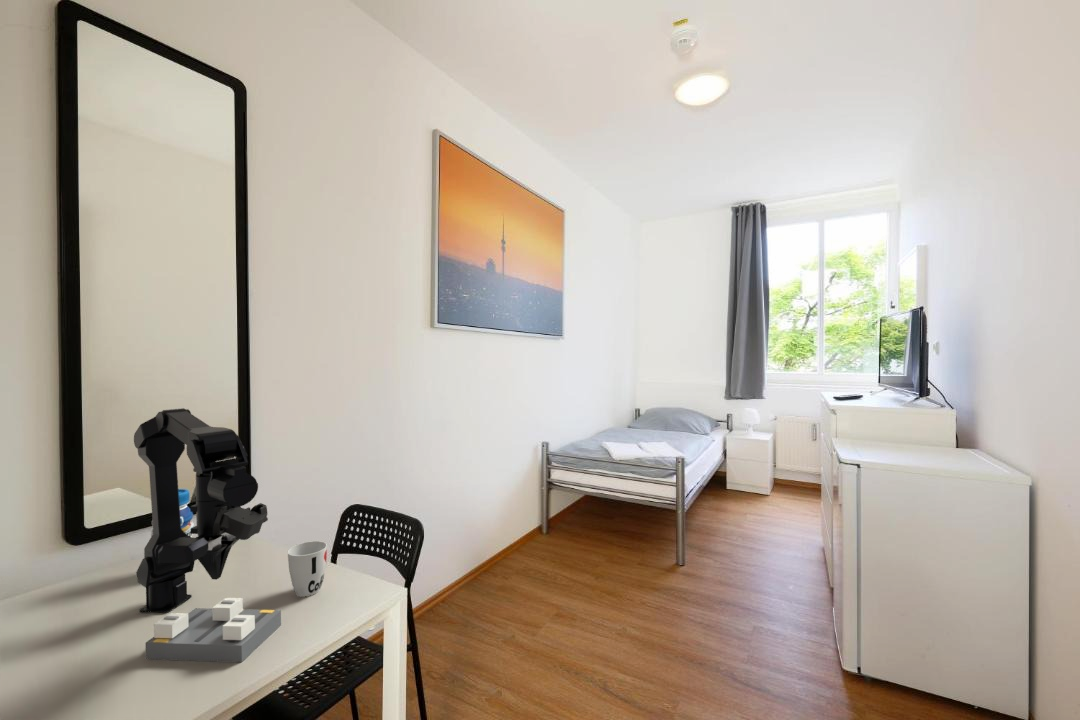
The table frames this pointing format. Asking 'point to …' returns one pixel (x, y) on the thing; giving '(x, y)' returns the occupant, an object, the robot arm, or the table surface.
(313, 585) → the cup
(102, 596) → the table surface
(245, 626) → the switch far
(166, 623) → the switch near
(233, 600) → the switch middle
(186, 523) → the beverage bottle
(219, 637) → the console
